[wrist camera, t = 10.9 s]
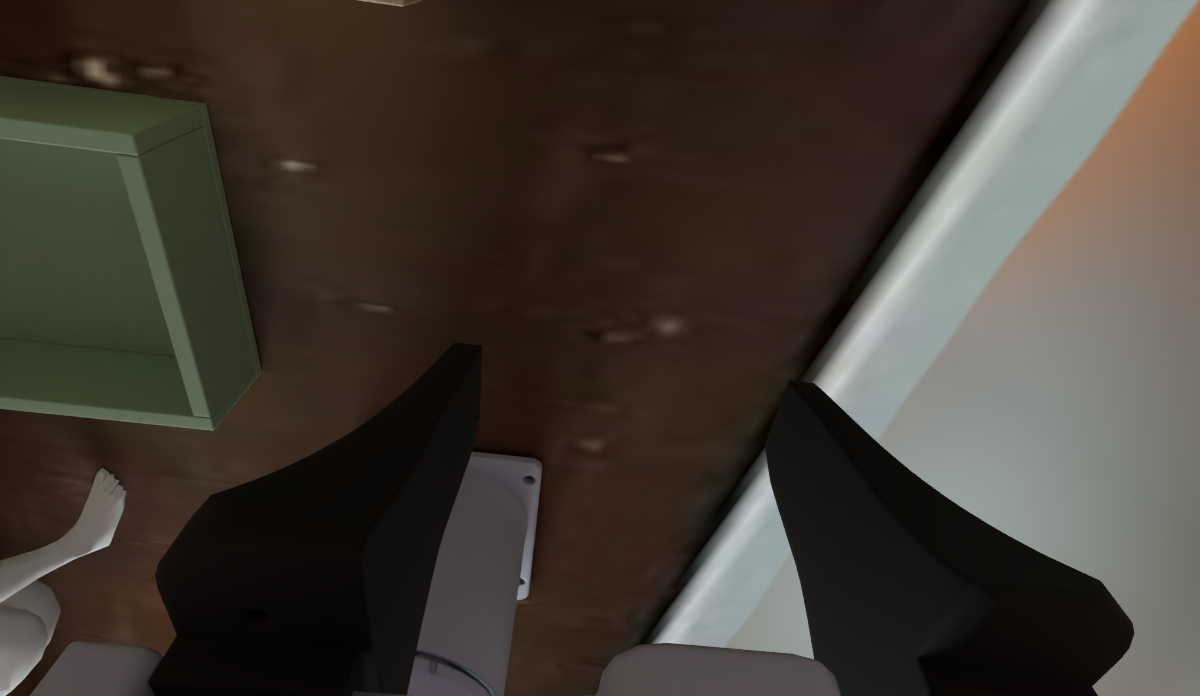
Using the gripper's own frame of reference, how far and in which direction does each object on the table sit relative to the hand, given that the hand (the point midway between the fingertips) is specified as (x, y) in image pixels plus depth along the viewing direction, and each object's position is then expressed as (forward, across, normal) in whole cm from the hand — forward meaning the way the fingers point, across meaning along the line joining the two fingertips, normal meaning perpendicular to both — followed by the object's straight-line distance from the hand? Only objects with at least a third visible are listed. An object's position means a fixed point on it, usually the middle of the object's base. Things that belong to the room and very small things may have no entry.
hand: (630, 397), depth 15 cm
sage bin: (+8, +20, +2) cm, 22 cm away
